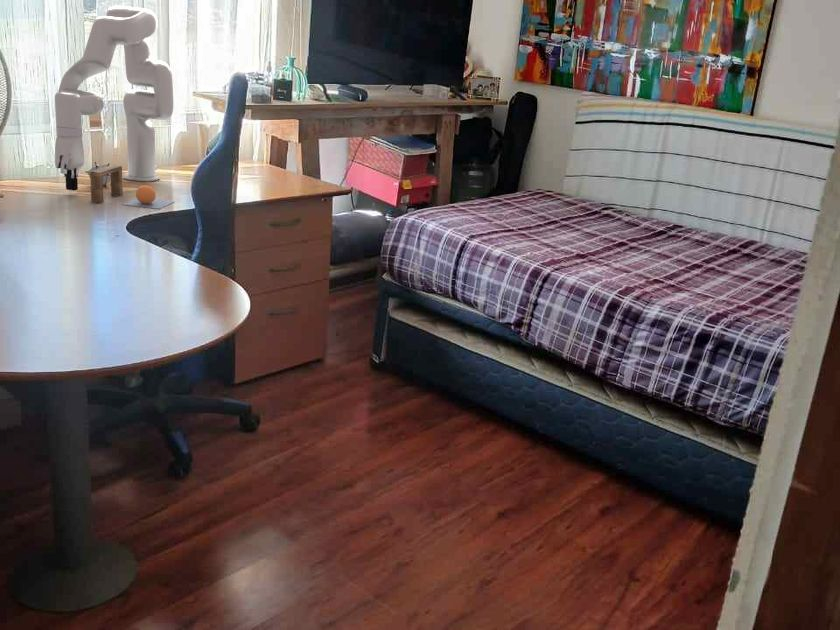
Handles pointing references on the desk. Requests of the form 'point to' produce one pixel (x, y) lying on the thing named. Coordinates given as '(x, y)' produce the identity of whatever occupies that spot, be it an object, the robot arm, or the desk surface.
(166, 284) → the desk surface
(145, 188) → the ball
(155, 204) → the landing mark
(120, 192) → the bridge
